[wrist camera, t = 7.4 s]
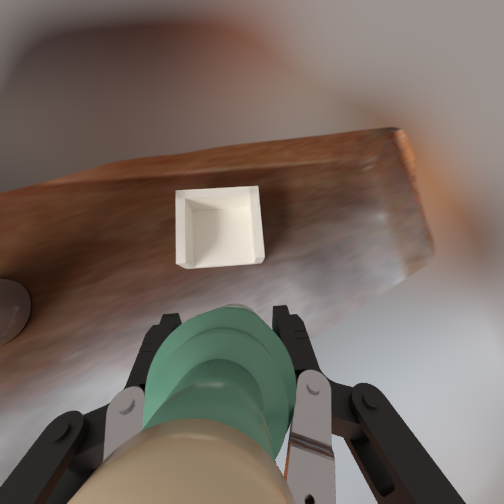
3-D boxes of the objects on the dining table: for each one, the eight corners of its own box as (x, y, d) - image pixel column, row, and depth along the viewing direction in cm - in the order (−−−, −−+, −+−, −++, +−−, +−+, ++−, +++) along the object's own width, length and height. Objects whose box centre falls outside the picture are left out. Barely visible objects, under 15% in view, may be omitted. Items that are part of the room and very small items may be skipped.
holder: (261, 263, 33) (264, 257, 28) (186, 269, 32) (176, 263, 27) (256, 201, 35) (258, 185, 30) (185, 206, 34) (175, 190, 29)
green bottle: (199, 353, 20) (-450, 1159, 1) (216, 297, 21) (19, 278, 2) (253, 369, 19) (443, 1504, 1) (268, 312, 21) (480, 414, 2)
